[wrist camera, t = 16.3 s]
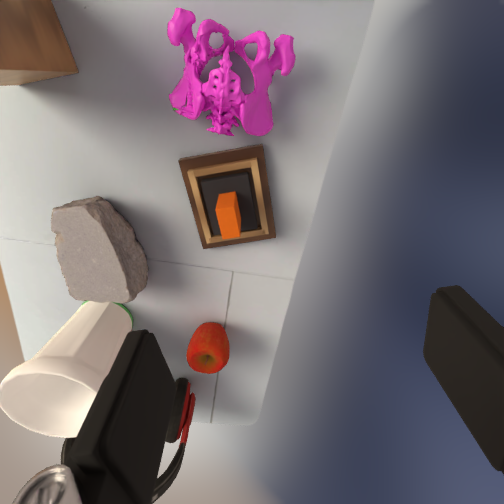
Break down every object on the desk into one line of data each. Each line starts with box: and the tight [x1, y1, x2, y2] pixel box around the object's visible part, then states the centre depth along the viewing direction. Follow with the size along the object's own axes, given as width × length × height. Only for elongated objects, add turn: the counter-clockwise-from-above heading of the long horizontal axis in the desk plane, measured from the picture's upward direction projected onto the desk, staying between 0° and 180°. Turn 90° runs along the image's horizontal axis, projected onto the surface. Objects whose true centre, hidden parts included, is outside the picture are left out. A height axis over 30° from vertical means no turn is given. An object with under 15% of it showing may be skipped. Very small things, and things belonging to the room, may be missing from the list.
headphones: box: [61, 378, 195, 504], centre depth 47 cm, size 18×10×20 cm, turn 76°
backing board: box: [179, 144, 276, 249], centre depth 39 cm, size 12×10×2 cm
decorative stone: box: [51, 196, 149, 304], centre depth 39 cm, size 15×7×10 cm
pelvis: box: [167, 8, 295, 136], centre depth 30 cm, size 12×10×7 cm
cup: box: [0, 301, 133, 438], centre depth 42 cm, size 12×12×15 cm
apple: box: [186, 322, 229, 374], centre depth 47 cm, size 6×6×8 cm
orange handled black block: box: [201, 171, 258, 239], centre depth 36 cm, size 7×6×6 cm
